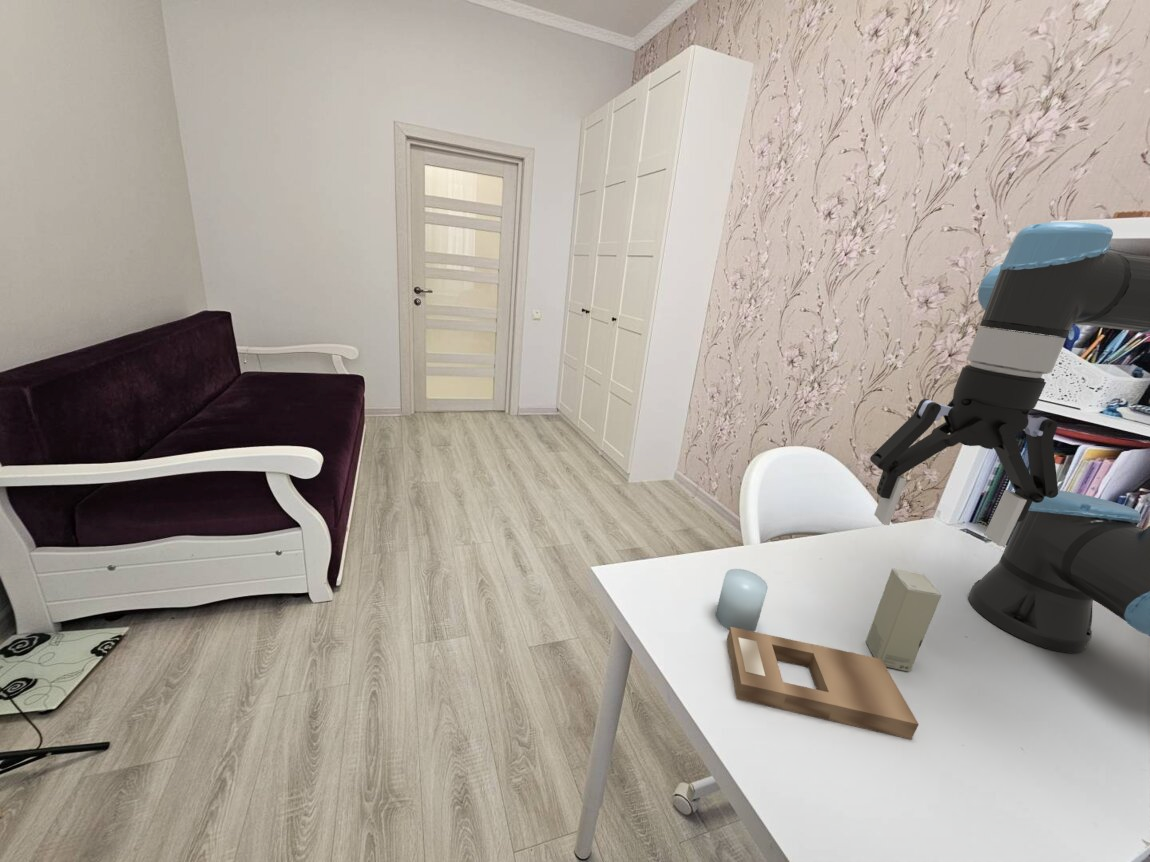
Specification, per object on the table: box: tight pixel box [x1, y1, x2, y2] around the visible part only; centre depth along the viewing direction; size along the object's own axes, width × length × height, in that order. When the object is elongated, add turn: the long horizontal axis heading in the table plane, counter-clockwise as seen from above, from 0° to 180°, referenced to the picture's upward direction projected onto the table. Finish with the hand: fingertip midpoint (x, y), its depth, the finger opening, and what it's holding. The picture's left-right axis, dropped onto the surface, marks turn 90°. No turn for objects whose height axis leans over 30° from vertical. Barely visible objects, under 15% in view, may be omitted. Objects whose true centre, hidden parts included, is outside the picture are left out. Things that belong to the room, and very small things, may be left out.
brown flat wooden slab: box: [726, 627, 920, 740], centre depth 61 cm, size 20×10×2 cm, turn 80°
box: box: [865, 568, 942, 672], centre depth 66 cm, size 5×4×13 cm
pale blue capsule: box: [715, 568, 769, 632], centre depth 70 cm, size 6×6×7 cm
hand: (936, 530), depth 61 cm, fingers open, 13 cm apart
